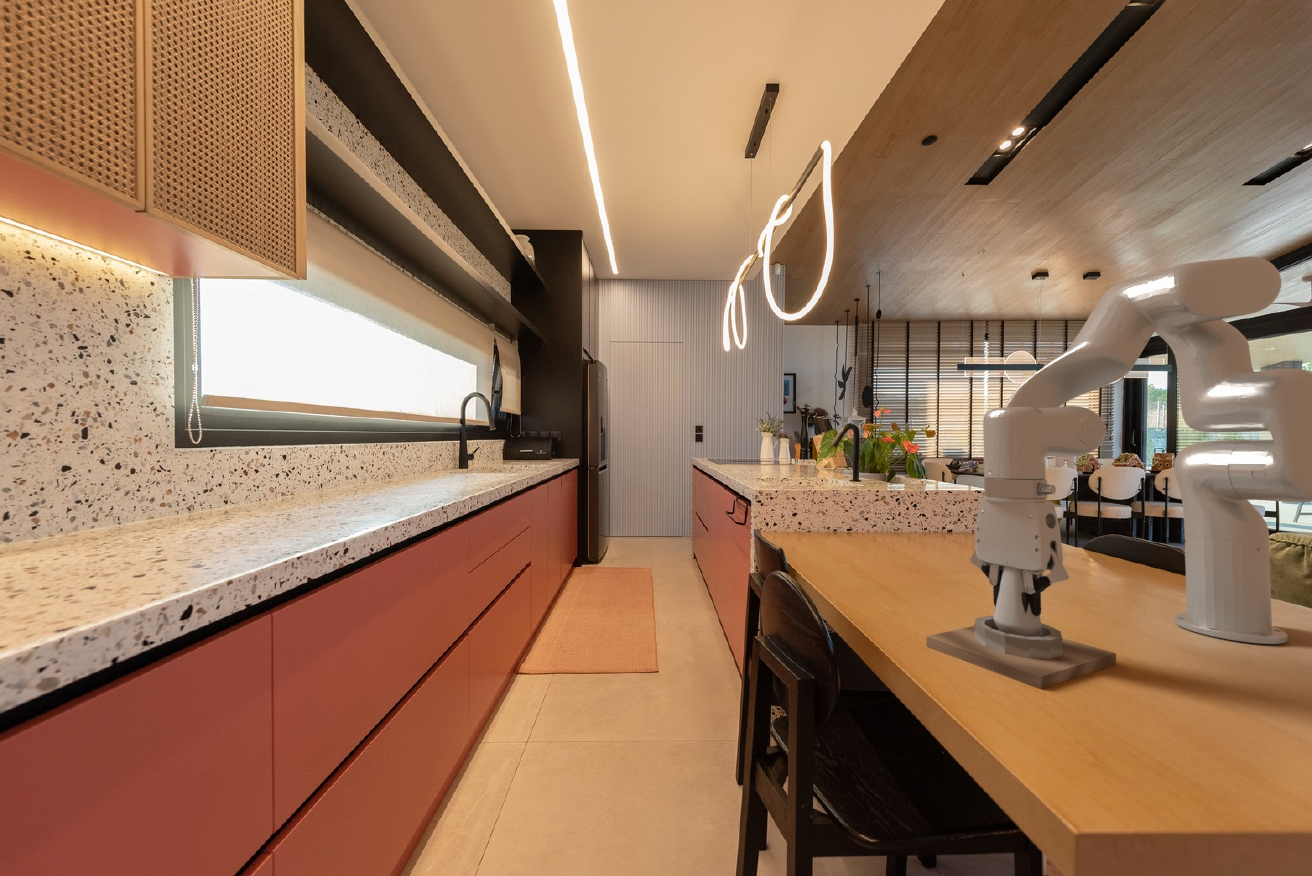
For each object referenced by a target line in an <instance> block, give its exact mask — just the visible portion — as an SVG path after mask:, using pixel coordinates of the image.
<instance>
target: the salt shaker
mask: <svg viewBox="0 0 1312 876" xmlns="http://www.w3.org/2000/svg"><path fill="white" fill-rule="evenodd" d="M1006 563H1007V564H1008V563H1009V562H1008V559H1007V560H1006ZM1000 581H1001V583H1000V588H999V594H998V598H997V603H996V608H995V607H994V615H993V616H994V622H995V624H996V625H997V627H998V629H999V631H1001V632H1004V633H1007V634H1013V635H1019V636H1025V637H1036V635H1037V633H1038V632H1039V630H1040V628H1041V623H1042V620H1041V614H1040V615H1039V616H1034V615H1033V614H1032V612H1031V608H1030V604H1028V609H1027V613H1025V610H1024V607H1023V603H1022V592H1026V591H1025V586H1024V578H1023V570H1018V569H1012V568H1007V567H1003V569H1002V575H1001V580H1000Z"/></svg>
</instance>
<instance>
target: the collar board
mask: <svg viewBox="0 0 1312 876" xmlns="http://www.w3.org/2000/svg"><path fill="white" fill-rule="evenodd" d="M926 647H927V648H930V649H933V650H936V651H938V652H941V653H944V654H946V655H949V656H952V657H955V658H957V659H959V660H962V661H965V662H968V663H970V664H973V665H976V666H978V667H981V668H984V669H987V670H989V671H991V672H992V671H993V672H994V673H998V674H1000V675H1002V676H1005V677H1008V678H1010V679H1013V680H1015V681H1019V682H1022V683H1024V684H1027V685H1030V686H1032V687H1034V688H1038V689H1041V690H1043V689H1045V688H1048V687H1052V686H1054V685H1057V684H1060V683H1063V682H1066V681H1069V680H1072V679H1075V678H1078V677H1082V676H1084V675H1088V674H1091V673H1094V672H1097V671H1100V670H1103V669H1106V668H1109V667H1112V666H1115V665H1117V653H1116V652H1112V651H1109V650H1106V649H1102V648H1099V647H1096V646H1092V645H1088V644H1084V643H1081V642H1078V641H1074V640H1070V639H1067V638H1064V637H1063V635H1062V631H1061V630H1059V629H1057V628H1055V627H1053V626H1050V625H1049V624H1045V623H1042V622H1041V628H1040V630H1039V632H1038V633H1037V635H1036V637H1025V636H1019V635H1013V634H1007V633H1004V632H1001V631H999V629H998V627H997V625H996V624H995V622H994V615H987V616H982V617H981V616H980V617H976V618H975V620H974V625H972V626H968V627H963V628H958V629H954V630H950V631H944V632H941V633H936V634H931V635H927V636H926Z"/></svg>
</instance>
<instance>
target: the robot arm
mask: <svg viewBox="0 0 1312 876" xmlns="http://www.w3.org/2000/svg"><path fill="white" fill-rule="evenodd" d="M1281 288H1282V278H1281V274H1280V272H1279V270H1278V269H1277V267H1276V266H1275V265H1274V264H1273V263H1272V262H1270V261H1269V260H1267V259H1264V258H1261V257H1260V256H1252V255H1251V256H1249V255H1247V256H1239V257H1231V258H1230V257H1229V258H1221V259H1212V260H1201V261H1193V262H1188V263H1187V262H1186V263H1184V264H1183V263H1182V264H1179V265H1178V264H1177V265H1175V266H1172V267H1167V268H1164V269H1161V270H1157V271H1154V272H1151V273H1146V274H1143V275H1140V276H1136V277H1133V278H1129V279H1126V280H1124V281H1121V282H1118V283H1117V284H1115V285H1113V286H1111V287H1110V288H1109V289H1107V290H1106V291H1105V293H1104V294H1103V295H1102V296H1101V297H1100V299H1099V300H1098V302H1097V303H1096V305H1095V307H1094V308H1093V310H1092V311H1091V313H1090V315H1089V316H1088V317H1087V319H1086V321H1085V323H1084V324H1083V325H1082V327H1081V329H1080V331H1079V332H1078V334H1077V335H1076V337H1075V338H1074V339H1073V341H1072V342H1071V344H1070V346H1069V347H1068V349H1067V350H1065V351H1064V352H1062V353H1061V354H1059V356H1057V357H1056V358H1054V359H1052V360H1051V361H1050V362H1048V363H1047V364H1046V365H1044V366H1043V367H1042V368H1040V369H1039V370H1038V371H1037V372H1034V374H1032V375H1031V376H1030V377H1029V378H1027V379H1026V380H1025V381H1024V382H1023V383H1021V384H1020V385H1019V386H1018V387H1017V388H1016V389H1015V390H1014V392H1013V393H1012V395H1010V397H1009V398H1008V401H1007V403H1005V405H1004V407H998V408H991V409H989V410H987V411H986V412H985V414H984V415H983V419H982V420H983V421H982V423H983V424H982V430H983V431H982V432H983V433H982V434H983V477H984V478H983V481H984V483H983V487H984V488H983V489H984V492H983V493H984V497H983V498H981V499H980V501H979V503H978V504H979V505H978V510H977V516H976V525H975V534H974V535H975V538H974V539H975V542H974V543H975V545H974V546H975V549H974V551H973V553H972V555H971V557H970V559H969V560H970V563H971V564H973V565H974V566H975V567H977V568H978V569H979V570H980V571H981V572H982V573H983V574H984V575H985V577H986V578H987V579H988V581H989V584H990V585H991V586H993V589H992V590H993V591H992V592H993V605H994V609H995V608H996V603H997V598H998V594H999V588H1000V583H1001V581H1000V580H1001V575H1002V569H1003V567H1007V568H1012V569H1018V570H1023V578H1024V586H1025V591H1026V592H1022V603H1023V607H1024V610H1025V613H1027V609H1028V604H1030V608H1031V612H1032V614H1033V615H1034V616H1039V615H1040V616H1041V614H1042V594H1041V593H1043V592H1045V590H1046V589H1047V588H1048V587H1050V586H1052V585H1053V584H1056V583H1059V582H1064V581H1066V580H1067V581H1068V580H1069V578H1070V575H1069V573H1068V572H1067V570H1066V568H1065V566H1064V565H1063V562H1064V561H1063V560H1064V559H1063V558H1064V557H1063V547H1062V546H1063V544H1062V537H1061V529H1060V523H1059V521H1058V520H1059V519H1058V516H1057V512H1056V511H1057V510H1056V508H1055V505H1054V502H1053V501H1047V498H1048V496H1049V495H1055V494H1056V491H1057V487H1056V485H1054V484H1049V483H1048V479H1046V476H1047V475H1046V473H1047V472H1046V457H1053V458H1054V457H1058V458H1062V457H1064V458H1065V457H1067V458H1070V457H1081V456H1085V455H1089V454H1091V453H1092V452H1094V451H1096V450H1097V449H1098V448H1099V447H1100V446H1101V445H1102V444H1103V443H1104V440H1105V438H1106V434H1107V430H1106V425H1105V422H1104V420H1103V419H1102V417H1101V415H1099V414H1098V413H1096V412H1095V411H1094V410H1091V409H1089V408H1086V407H1084V406H1078V405H1065V406H1063V405H1064V404H1065V403H1067V402H1069V401H1071V400H1073V399H1076V398H1079V397H1080V396H1083V395H1085V394H1088V393H1091V392H1093V391H1096V390H1098V389H1100V388H1103V387H1105V386H1108V385H1109V384H1111V383H1114V382H1115V381H1117V380H1121V379H1122V378H1124V377H1125V376H1126V375H1128V374H1129V373H1130V372H1131V371H1132V369H1133V368H1134V366H1135V365H1136V363H1137V361H1138V359H1139V357H1140V356H1141V354H1142V352H1143V351H1144V350H1145V347H1146V346H1147V344H1148V342H1149V341H1150V339H1151V338H1152V336H1153V334H1154V333H1156V335H1158V336H1159V337H1160V338H1161V339H1162V340H1163V341H1164V342H1166V343H1167V345H1168V346H1169V348H1170V349H1171V350H1172V353H1173V355H1174V358H1175V364H1176V369H1177V380H1178V391H1179V401H1180V409H1181V414H1182V418H1183V421H1184V423H1185V425H1187V427H1188V428H1191V429H1192V430H1194V431H1197V432H1202V433H1247V432H1248V433H1249V432H1250V433H1253V432H1255V433H1256V432H1269V433H1270V435H1271V437H1272V439H1260V440H1258V439H1252V440H1251V439H1238V440H1237V439H1233V440H1231V439H1230V440H1229V439H1228V440H1227V439H1226V440H1225V439H1224V440H1207V441H1202V442H1196V443H1193V444H1190V445H1188V446H1186V447H1184V448H1183V449H1181V450H1179V452H1178V454H1177V455H1176V456H1175V459H1174V462H1173V468H1174V469H1173V470H1174V475H1175V479H1176V483H1177V486H1178V489H1179V492H1180V496H1181V502H1182V509H1183V523H1184V524H1183V527H1184V564H1185V588H1186V589H1185V591H1186V593H1185V595H1186V612H1181V613H1176V614H1175V615H1174V617H1173V618H1174V619H1173V620H1174V624H1176V625H1177V626H1179V627H1182V628H1183V629H1185V630H1187V631H1192V632H1194V633H1197V634H1198V633H1199V634H1201V635H1206V636H1208V637H1209V636H1210V637H1214V638H1219V639H1223V640H1228V641H1229V640H1230V641H1234V642H1241V643H1250V644H1263V645H1281V644H1285V643H1287V642H1288V640H1289V639H1288V634H1287V632H1285V631H1284V630H1283V629H1280V628H1277V627H1276V626H1273V619H1272V618H1273V617H1272V613H1273V612H1272V588H1271V559H1270V555H1271V553H1270V532H1269V527H1268V525H1267V522H1266V520H1265V519H1264V517H1263V516H1262V514H1261V513H1260V512H1259V511H1258V509H1257V508H1256V507H1255V506H1253V504H1252V503H1251V502H1250V501H1252V500H1253V501H1268V502H1269V501H1270V502H1282V503H1283V502H1284V503H1286V502H1287V503H1312V372H1311V371H1309V370H1306V369H1301V368H1294V367H1293V368H1290V367H1289V368H1285V367H1284V368H1275V369H1268V370H1267V369H1266V370H1258V371H1257V370H1256V371H1255V370H1254V368H1253V365H1252V358H1251V350H1250V345H1249V342H1248V340H1247V338H1246V336H1245V335H1243V334H1242V333H1241V332H1240V330H1238V329H1237V328H1236V327H1235V326H1233V325H1232V324H1230V323H1229V322H1228V321H1225V320H1226V319H1231V318H1235V317H1241V316H1246V315H1247V316H1248V315H1250V314H1255V313H1259V312H1261V311H1264V310H1266V309H1267V308H1268V307H1269V306H1270V305H1272V304H1273V303H1274V302H1275V300H1276V299H1277V298H1278V296H1279V295H1280V292H1281ZM1249 500H1250V501H1249ZM1007 559H1008V562H1009V563H1008V564H1007V563H1006V560H1007ZM1046 570H1047V571H1048V570H1049V571H1050V572H1049V574H1045V575H1044V572H1045V571H1046Z"/></svg>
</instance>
